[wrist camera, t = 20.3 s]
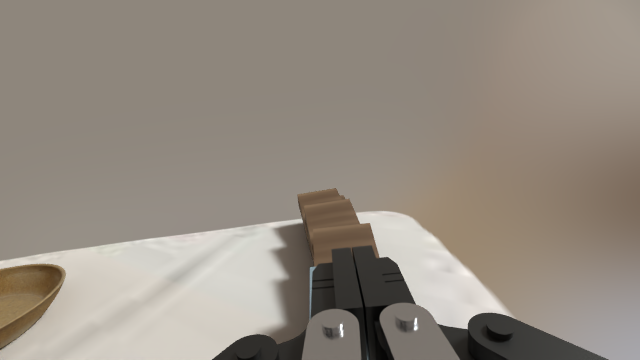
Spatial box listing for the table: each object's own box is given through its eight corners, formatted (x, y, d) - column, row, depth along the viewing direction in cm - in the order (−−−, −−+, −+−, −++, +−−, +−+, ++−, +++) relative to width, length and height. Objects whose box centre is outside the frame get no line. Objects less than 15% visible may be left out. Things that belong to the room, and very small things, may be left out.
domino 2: (379, 269, 25) (349, 198, 33) (318, 279, 24) (303, 205, 33) (379, 283, 25) (349, 211, 34) (319, 293, 25) (305, 218, 33)
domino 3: (400, 331, 18) (369, 223, 27) (316, 340, 18) (313, 228, 27) (399, 348, 19) (370, 237, 28) (319, 356, 19) (315, 243, 28)
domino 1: (360, 236, 30) (335, 188, 39) (311, 246, 30) (297, 194, 38) (360, 250, 31) (336, 199, 40) (312, 259, 30) (298, 205, 39)
